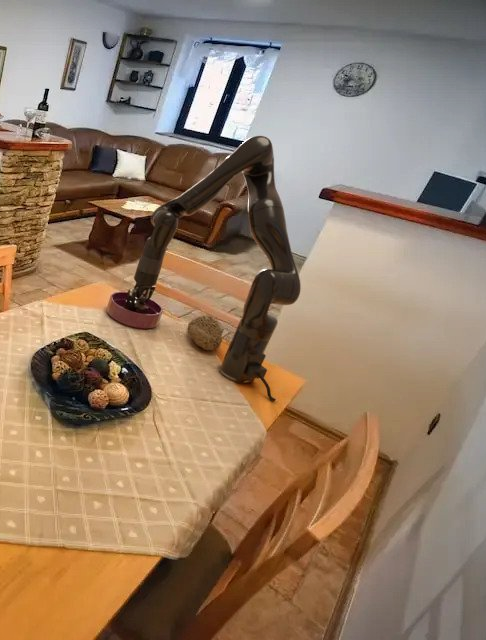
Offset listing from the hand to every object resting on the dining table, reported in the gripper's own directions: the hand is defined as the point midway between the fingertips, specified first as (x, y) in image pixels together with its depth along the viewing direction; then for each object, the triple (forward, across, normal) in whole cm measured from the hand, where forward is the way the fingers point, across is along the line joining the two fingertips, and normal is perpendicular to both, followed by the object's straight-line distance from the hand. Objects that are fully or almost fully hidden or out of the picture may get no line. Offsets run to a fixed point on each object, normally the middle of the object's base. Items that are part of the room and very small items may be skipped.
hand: (133, 314), depth 174 cm
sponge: (+1, -9, +22) cm, 24 cm away
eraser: (0, 0, 0) cm, 0 cm away
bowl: (+1, 0, 0) cm, 1 cm away
